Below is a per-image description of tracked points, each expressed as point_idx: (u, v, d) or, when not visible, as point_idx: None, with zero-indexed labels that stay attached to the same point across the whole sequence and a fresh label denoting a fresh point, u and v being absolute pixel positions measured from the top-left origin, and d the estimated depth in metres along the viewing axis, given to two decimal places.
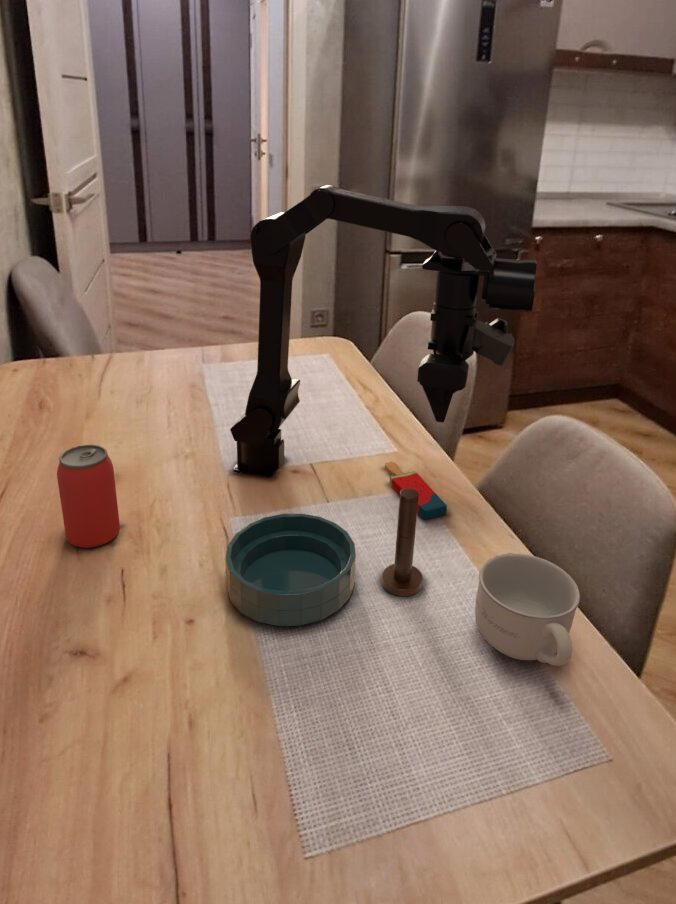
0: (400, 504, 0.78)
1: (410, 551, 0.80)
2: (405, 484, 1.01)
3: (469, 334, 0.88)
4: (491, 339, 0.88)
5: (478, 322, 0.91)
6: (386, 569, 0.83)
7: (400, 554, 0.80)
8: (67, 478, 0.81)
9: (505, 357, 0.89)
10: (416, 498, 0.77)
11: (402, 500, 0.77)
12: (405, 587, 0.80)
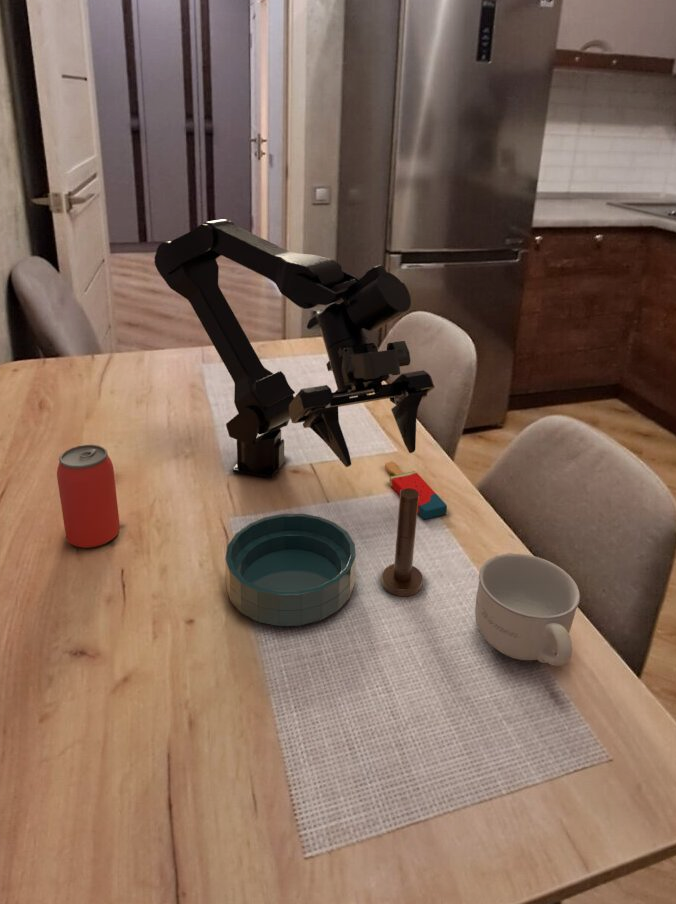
0: (400, 504, 0.78)
1: (410, 551, 0.80)
2: (405, 484, 1.01)
3: (342, 364, 0.84)
4: (354, 357, 0.82)
5: (369, 353, 0.85)
6: (386, 569, 0.83)
7: (400, 554, 0.80)
8: (67, 478, 0.81)
9: (368, 368, 0.79)
10: (416, 498, 0.77)
11: (402, 500, 0.77)
12: (405, 587, 0.80)
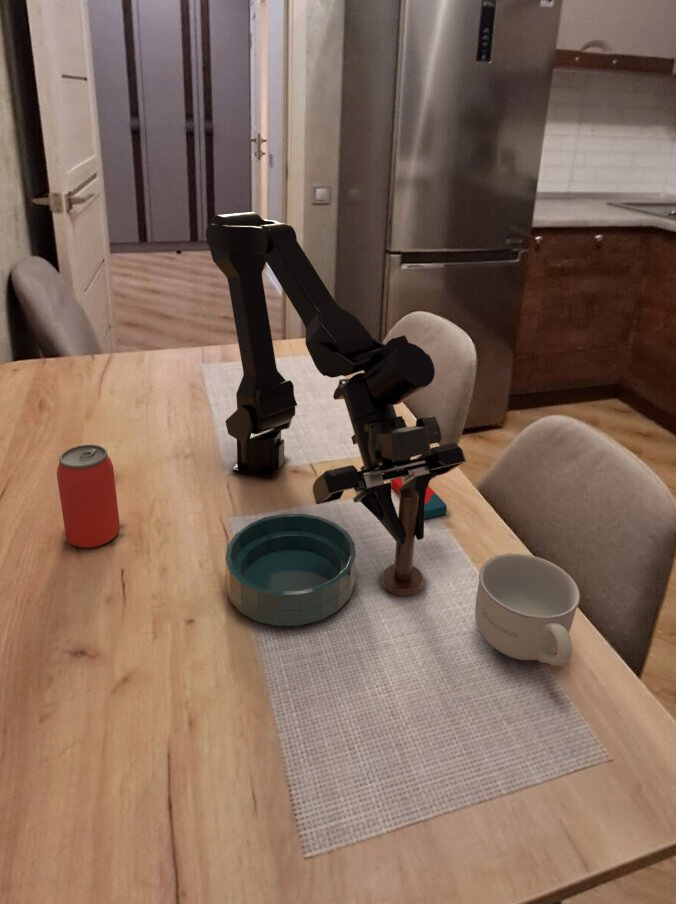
0: (400, 504, 0.78)
1: (410, 551, 0.80)
2: None
3: (369, 441, 0.79)
4: (381, 435, 0.77)
5: (397, 428, 0.80)
6: (386, 569, 0.83)
7: (400, 554, 0.80)
8: (67, 478, 0.81)
9: (397, 449, 0.74)
10: (416, 498, 0.77)
11: (402, 500, 0.77)
12: (405, 587, 0.80)
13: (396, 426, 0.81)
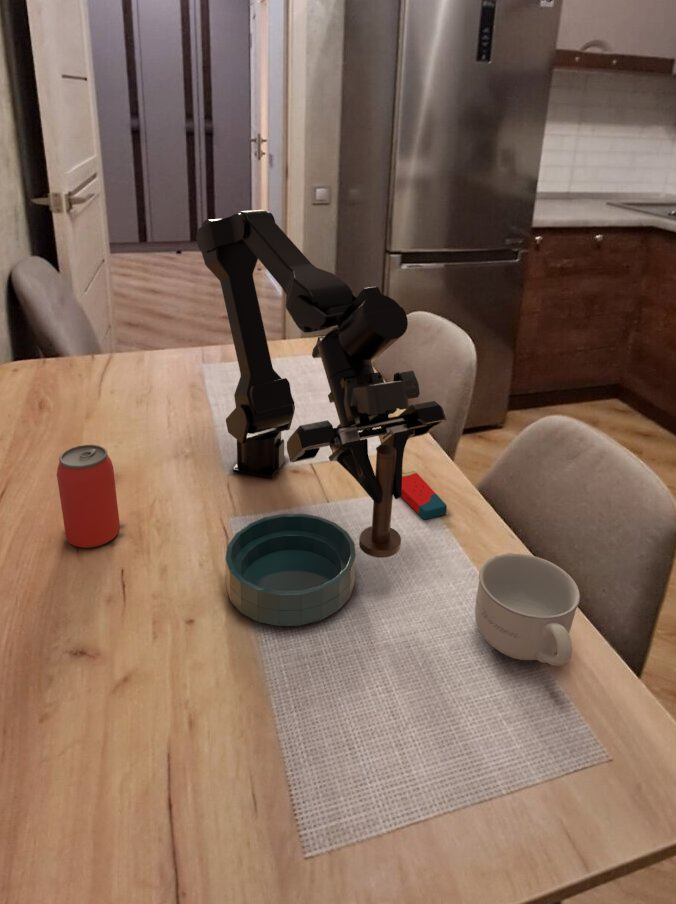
0: (377, 461, 0.75)
1: (388, 510, 0.77)
2: (405, 484, 1.01)
3: (345, 396, 0.76)
4: (357, 389, 0.74)
5: (375, 383, 0.78)
6: (364, 531, 0.81)
7: (377, 514, 0.77)
8: (67, 478, 0.81)
9: (372, 402, 0.72)
10: (393, 454, 0.74)
11: (379, 457, 0.75)
12: (383, 548, 0.78)
13: (373, 382, 0.78)
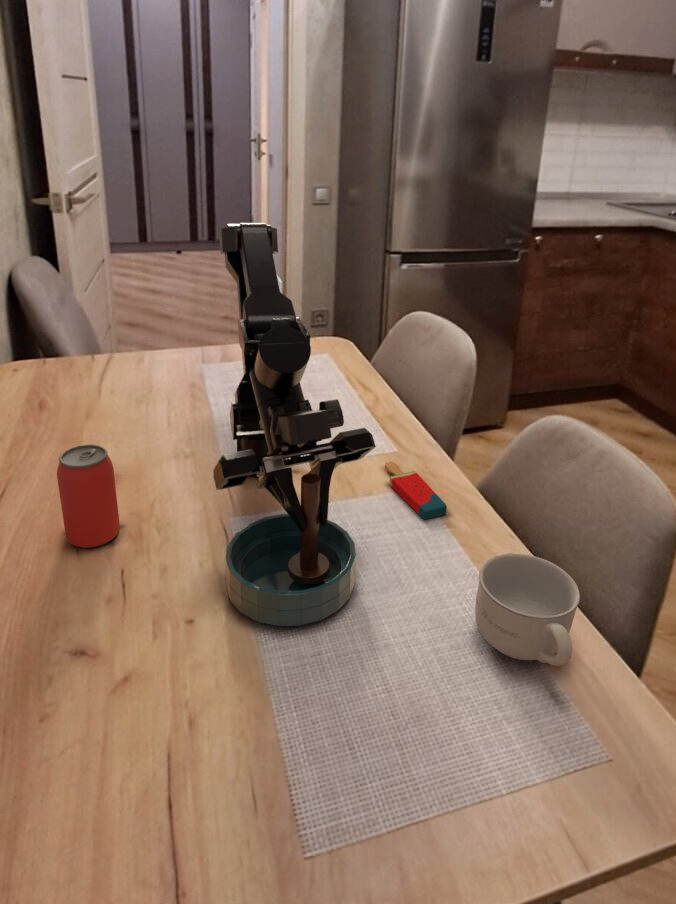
0: (301, 490, 0.76)
1: (314, 538, 0.78)
2: (404, 484, 1.01)
3: (271, 425, 0.77)
4: (280, 419, 0.75)
5: (302, 411, 0.78)
6: (293, 557, 0.81)
7: (303, 541, 0.78)
8: (67, 478, 0.81)
9: (293, 433, 0.72)
10: (317, 483, 0.75)
11: (303, 485, 0.75)
12: (309, 575, 0.78)
13: (301, 410, 0.78)
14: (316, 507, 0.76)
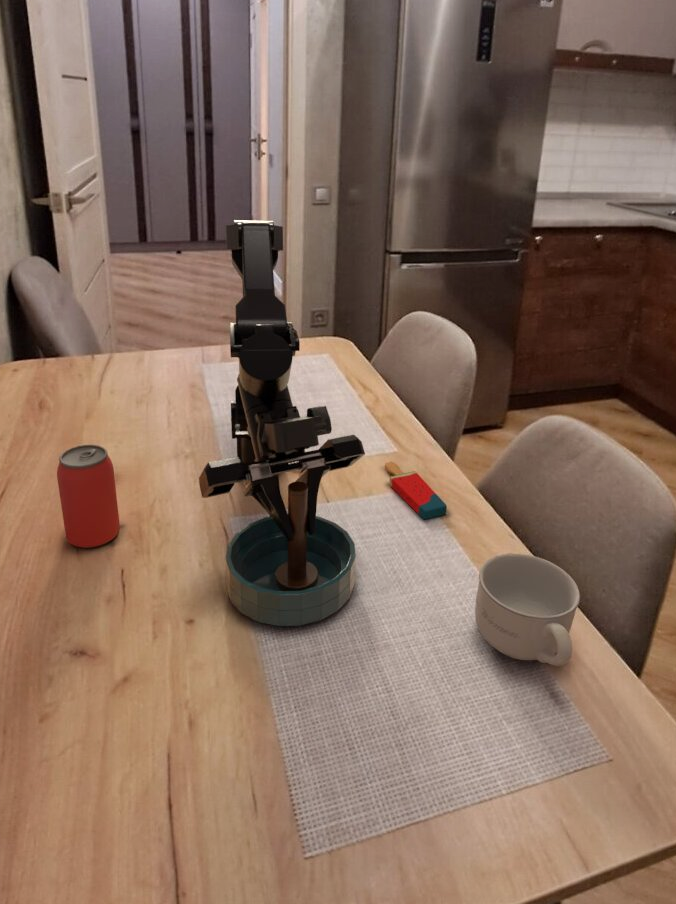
0: (288, 498, 0.74)
1: (301, 547, 0.76)
2: (404, 484, 1.01)
3: (257, 432, 0.76)
4: (267, 426, 0.73)
5: (289, 418, 0.77)
6: (281, 566, 0.80)
7: (291, 550, 0.76)
8: (67, 478, 0.81)
9: (279, 440, 0.71)
10: (304, 492, 0.74)
11: (289, 494, 0.74)
12: (297, 585, 0.77)
13: (288, 416, 0.77)
14: (303, 516, 0.75)
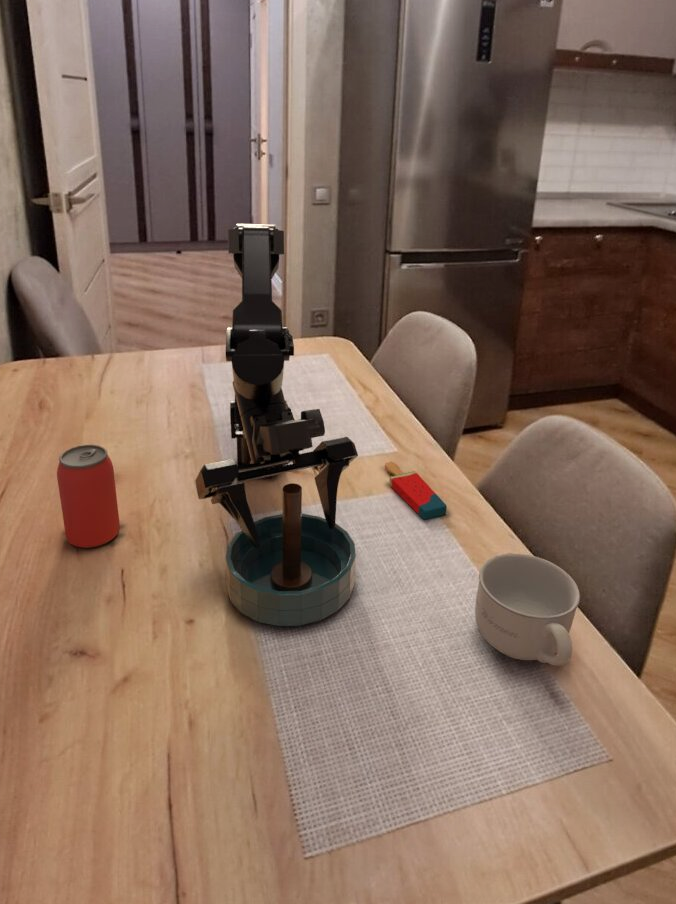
0: (283, 499, 0.76)
1: (296, 547, 0.78)
2: (404, 484, 1.01)
3: (253, 434, 0.77)
4: (262, 428, 0.75)
5: (284, 421, 0.79)
6: (276, 566, 0.82)
7: (285, 550, 0.78)
8: (67, 478, 0.81)
9: (274, 442, 0.73)
10: (298, 493, 0.75)
11: (284, 495, 0.76)
12: (292, 584, 0.79)
13: (283, 419, 0.79)
14: (298, 517, 0.77)
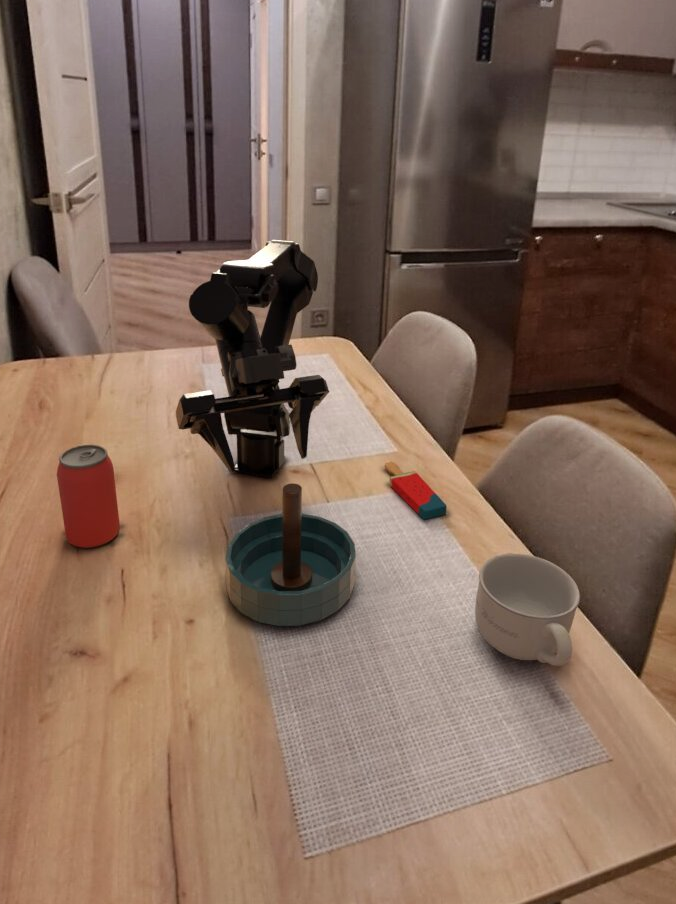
0: (283, 499, 0.76)
1: (296, 547, 0.78)
2: (404, 484, 1.01)
3: (229, 369, 0.83)
4: (237, 361, 0.80)
5: None
6: (276, 566, 0.82)
7: (285, 550, 0.78)
8: (67, 478, 0.81)
9: (247, 372, 0.78)
10: (298, 493, 0.75)
11: (284, 495, 0.76)
12: (292, 584, 0.79)
13: (258, 356, 0.84)
14: (298, 517, 0.77)
